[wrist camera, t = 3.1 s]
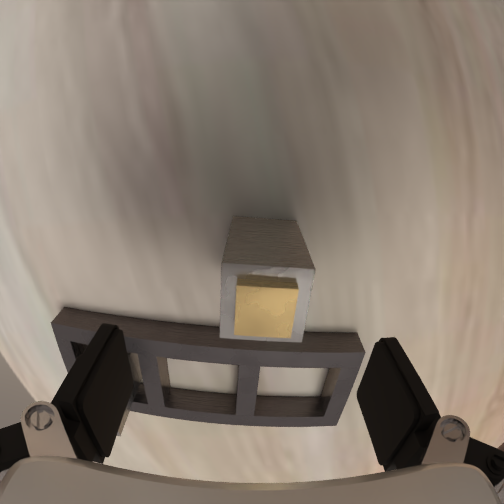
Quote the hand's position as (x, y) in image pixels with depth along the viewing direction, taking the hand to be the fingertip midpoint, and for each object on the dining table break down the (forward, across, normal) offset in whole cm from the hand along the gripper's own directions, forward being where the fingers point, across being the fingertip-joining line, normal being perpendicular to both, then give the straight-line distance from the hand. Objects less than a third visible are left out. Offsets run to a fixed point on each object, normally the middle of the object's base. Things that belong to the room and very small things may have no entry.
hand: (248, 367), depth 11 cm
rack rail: (+11, +3, +10) cm, 15 cm away
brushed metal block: (+11, -1, 0) cm, 11 cm away
